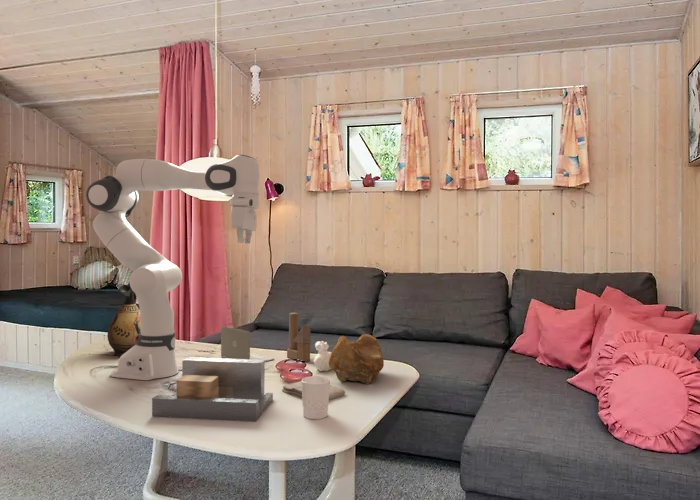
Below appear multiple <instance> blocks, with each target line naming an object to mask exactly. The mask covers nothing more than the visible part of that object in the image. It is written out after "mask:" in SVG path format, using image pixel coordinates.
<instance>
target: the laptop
mask: <svg viewBox="0 0 700 500" xmlns="http://www.w3.org/2000/svg"><path fill="white" fill-rule="evenodd" d="M220 332H221V333H220V356H221V357H220V358H226V359H253V360H265V362H269V361H273V360H275V358H273V357H270V356H266V355H262V354H257V353H254V352H251V331H248V330H243V329H237V328H234V327H229V326H225V325H221V329H220Z"/></svg>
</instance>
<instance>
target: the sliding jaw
mask: <svg viewBox="0 0 700 500" xmlns="http://www.w3.org/2000/svg"><path fill="white" fill-rule="evenodd" d="M181 365H182V371H181V372H182V376H181V377H183V376H184V375H202V376H218V398H233V399H256V400H259V401H260V400H261V399H262V397H263V396H264V395H265V374H266V373H265V367H266V366H265V360H253V359H226V358H221V357H220V358H219V357H194V356H193V357H192V356H187V357H185V358H184V359H182V363H181Z"/></svg>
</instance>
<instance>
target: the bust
mask: <svg viewBox="0 0 700 500" xmlns="http://www.w3.org/2000/svg"><path fill="white" fill-rule="evenodd" d="M314 347H315V349H316V351H318V352H317V354H316V355H315V357H314V359H313V361H312V362H313V363H314V367H315V369H317V370H319V371H320V372H328V371H331V370H333V369H332V368H330V367H329V359H330V356H331V353H332V351H328V349H329V348H330V346H329V344H328V343H327V341H324V340H321V341H320V340H319V341H316V342H315V344H314Z"/></svg>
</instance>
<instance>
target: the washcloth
mask: <svg viewBox="0 0 700 500" xmlns="http://www.w3.org/2000/svg"><path fill="white" fill-rule="evenodd" d="M281 391H282V392H284V393H285V394H287V395H290V396H293V397H297V398H300V399H302V380H300V381H295V382H289V383H288V384H285V385H283V386H282V388H281ZM344 395H346V390H345V389H344V388H342V387H339V386H336V385H335V386H334V385H332V384H330V389H329V401H331V400H333V399H338V398H339V397H343V396H344Z"/></svg>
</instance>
